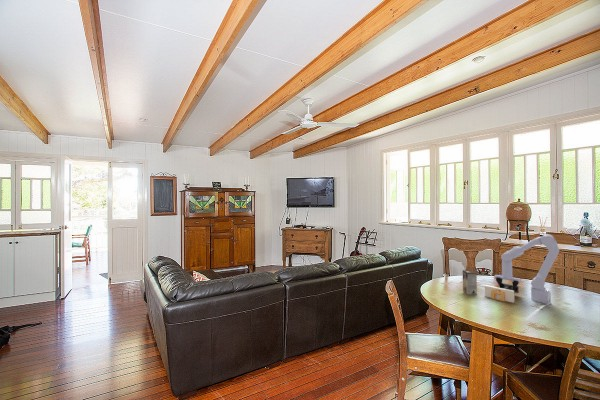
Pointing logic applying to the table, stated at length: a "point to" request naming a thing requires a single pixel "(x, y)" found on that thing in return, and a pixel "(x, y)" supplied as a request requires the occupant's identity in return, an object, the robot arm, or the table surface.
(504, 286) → the shaft
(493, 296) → the block
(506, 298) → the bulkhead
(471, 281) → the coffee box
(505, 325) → the table surface
